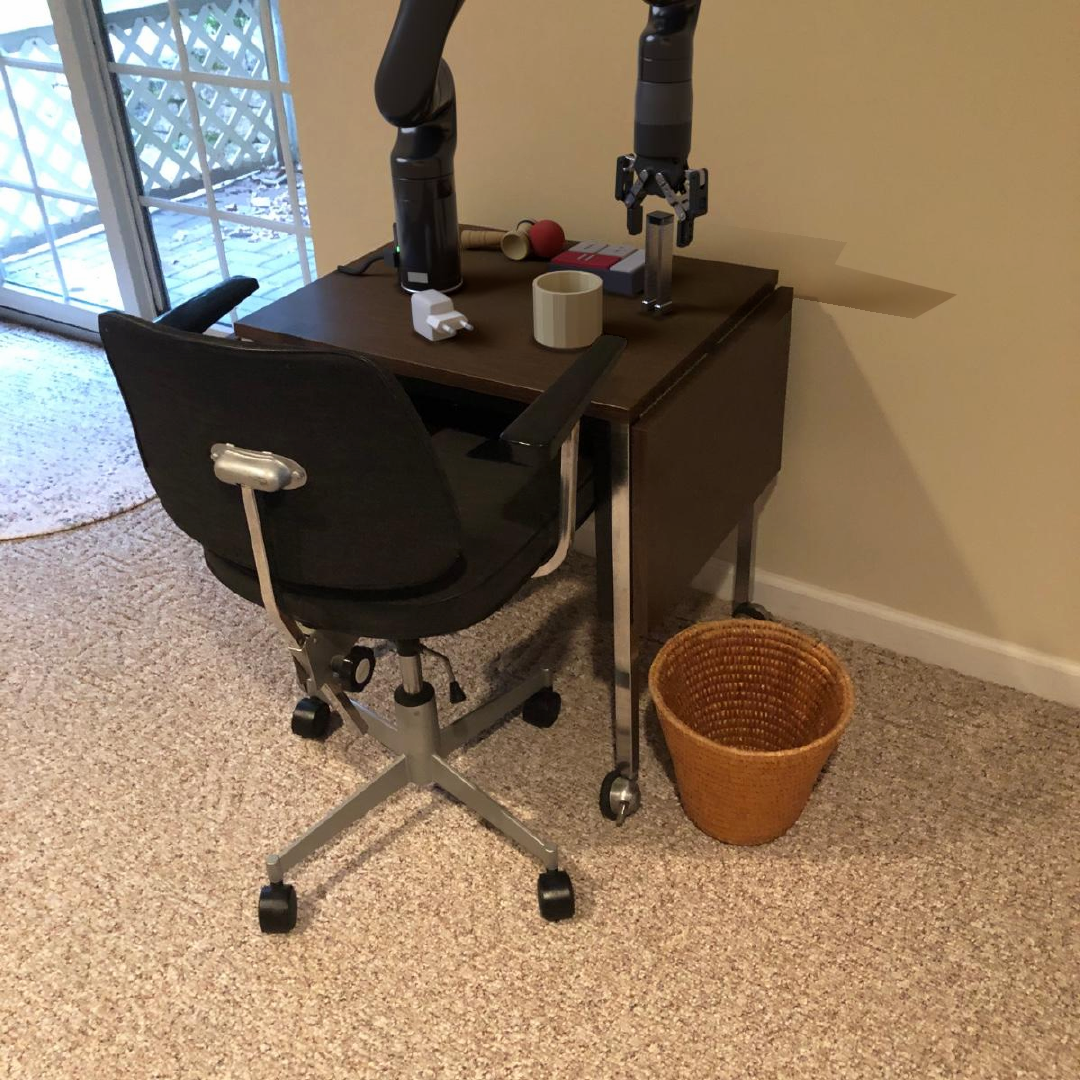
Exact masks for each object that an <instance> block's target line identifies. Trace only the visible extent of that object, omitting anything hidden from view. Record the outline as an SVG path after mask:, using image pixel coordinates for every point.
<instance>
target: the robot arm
mask: <svg viewBox="0 0 1080 1080" xmlns="http://www.w3.org/2000/svg"><path fill="white" fill-rule="evenodd" d="M466 1H467V0H400V1H399V6H398V10H397V13H396V16H395V20H394V23H393V26H392V29H391V31H390V34H389V38H388V40H387V42H386V45H385V48H384V51H383V53H382V56H381V59H380V62H379V65H378V67H377V70H376V74H375V78H374V81H373V82H374V84H373V95H374V102H375V105H376V108H377V110H378V112H379V114H380V115H381V117H382V118H383V119H384V120H385V121H386V122H387V123H388V124H389V125H390V126H392V127H395V128H397V132H396V139H395V141H394V145H393V147H392V149H391V151H390V154H389V168H390V169H389V170H390V178H391V179H390V180H391V187H392V197H393V207H394V218H395V221H394V222H393V224H392V233H393V242H394V243H393V244H394V246H390V247H387V248H383V249H382V252H381V253H376V254H374V255H372V256H370V257H368V258H367V259H366V260H365V262H364V263H363V264H362V265H361V266H360V267H358V268H351V267H347V266H344V265H340V264H338V265H337V266H336V270H337V271H338V272H341V273H343V274H348V275H350V276H357V275H358V276H359V275H362V274H364V273H365V272H366V271H367V270H368V269H369V268H370V267H371V265H372V264H373V263H375V262H377V261H380V260H383V263H384V265H385V266H387V267H391V268H393V269H396V272H397V273H396V274H397V281H398V285H400V286H401V290H402V291H403V292H404V293H406V294H409V295H411V296H412V295H413V294H415V293H418V292H422V291H426V290H431V289H434V290H436V291H438V292H440V293H442V294H444V295H448V294H451V293H454V292H456V291H458V290H460V289H461V288H462V287H463V286H464V281H463V274H462V260H461V259H462V258H461V245H460V229H459V218H458V217H459V216H458V214H459V213H458V202H457V189H456V173H455V171H456V170H455V156H456V151H457V148H458V147H457V146H458V112H457V111H458V110H457V109H458V108H457V91H456V84H455V83H456V82H455V79H454V75H453V72H452V70H451V67H450V65H449V64H448V62H447V61H446V60H445V58H444V57H443V55H444V49H445V46H446V43H447V39H448V37H449V34H450V31H451V29H452V27H453V25H454V23H455V20H456V19H457V17H458V15H459V13H460V12H461V10H462V8H463V6H464V4H465V3H466ZM642 2H643V3H645V4H647V5H648V13H647V15H648V16H647V22H646V25H645V27H644V28H643V30H642V31H641V33H640V35H639V38H638V42H637V61H636V62H637V63H636V84H635V92H634V106H633V107H634V108H633V144H632V145H633V150H632V151H633V153H627V154H623V155H620V156H618V157H617V158H616V165H615V166H616V167H615V184H614V186H615V187H614V198H615V200H616V201H618V202H620V201H621V202H622V203H623V204H624V206H625V208H626V229H627V231H628V235H630V236H633V237H635V236H637V235H640V234H642V232H643V230H644V229H643V227H644V226H643V225H644V206H643V205H641V204H642V203H643V202H644V201H645V199H646V198H647V196H657V197H658V198H660V199H664V200H665V199H666V200H667V203H668V205H669V206H671V207H672V208H673V209H674V211H675V213H676V215H677V217H678V220H677V222H676V223H677V224H676V241H675V242H676V243H675V244H676V245H675V246H676V247H677V248H680V249H684V248H687V247H689V246H690V245H691V243H692V242H693V240H694V231H695V229H694V228H695V219H697V218H700V217H702V216H705V215H707V214H708V212H709V170H708V169H707V168H706V167H702V168H698V169H696V168H690V166H689V162H688V161H689V160H688V158H689V155H690V154H691V151H692V135H693V134H692V133H693V115H694V113H693V112H694V85H693V70H694V53H695V51H694V49H695V48H694V46H695V45H694V42H695V41H694V39H695V34H696V30H697V25H698V21H699V17H700V11H701V6H702V0H642ZM635 155H636V156H635ZM635 174H636V176H637V179H636V180H635ZM634 181H635V182H634ZM686 181H687V182H686ZM678 193H679V194H680V195H677V194H678Z"/></svg>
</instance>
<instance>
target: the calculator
mask: <svg viewBox="0 0 1080 1080" xmlns="http://www.w3.org/2000/svg"><path fill="white" fill-rule="evenodd" d="M546 268H547V269H546V270H547V273H550V272H556V271H569V270H571V271H583V272H588V273H592V274H595V275H597V276H599V277H600V278H601V279H602V280H603V290H605V291H609V292H614V293H619V294H625V295H631V296H634V295H636V294H638V293H640V291H642V290H643V291H644V277H645V248H640V249H639V248H638V247H637V246H630V245H623V244H620V245H619V244H610V245H609V244H608V243H604V242H603V243H602V242H594V241H581V242H579V243H578V244H576V245H574V246H572V247H570V248H569V249H568V250H565V251H562V252H561V253H560V254H558V255H556V256H554V257H551V258H550V261H549V262H547V264H546Z"/></svg>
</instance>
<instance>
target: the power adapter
mask: <svg viewBox="0 0 1080 1080" xmlns="http://www.w3.org/2000/svg"><path fill="white" fill-rule="evenodd" d="M410 301H411V314H412V323H413V328H414V330H415V332H416V333H418V334H420V335H421V336H423V337H425V338H426V339H428V340H429V341H432V342H437V341H441V340H445V339H448V338H452V337H455V336H456V335H457V330H461V329H463V328H465V329H466V330H468V331H469V332H470V331H471V332H472V331H473V330H474V326H473V325H472V324H470V323H468V322H469V319H468V318H467V316H465V314H463V313H461V312H459V311H458V310H456V309H455V308H454V303H453V300H452V299H451V298H450V297H449V296H447V294H442V293H440V292H438V291H436V290H434V289H431V290H426V291H422V292H418V293H415V294H413V295H412V294H411V298H410Z"/></svg>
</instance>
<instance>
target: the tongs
mask: <svg viewBox="0 0 1080 1080" xmlns="http://www.w3.org/2000/svg"><path fill="white" fill-rule="evenodd" d="M674 228H675V214H674V213H671V212H667V211H663V210H660V209H659V210H654V211H651V212H648V213H646V215H645V240H644V243H645V245H644V249H645V277H644V290H643V300H642V301H641V311H644V312H649V311H651V310H654V315H656V316H658V317H659V316H663V315H665V314H667V313H670V312H672V311H673V304H674V303H673V301H672V281H673V279H672V277H673V257H674V255H673V253H674V251H673V250H674V233H675V231H674V230H675V229H674Z"/></svg>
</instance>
